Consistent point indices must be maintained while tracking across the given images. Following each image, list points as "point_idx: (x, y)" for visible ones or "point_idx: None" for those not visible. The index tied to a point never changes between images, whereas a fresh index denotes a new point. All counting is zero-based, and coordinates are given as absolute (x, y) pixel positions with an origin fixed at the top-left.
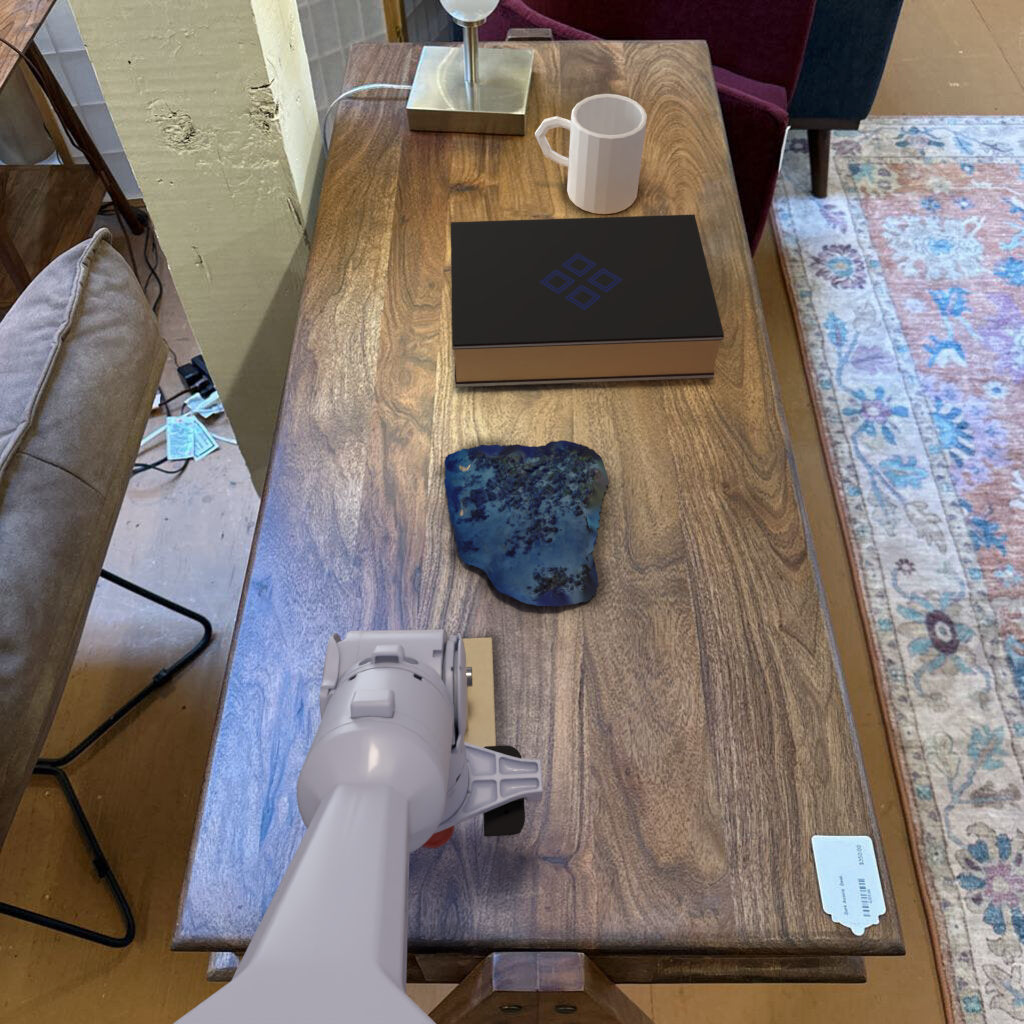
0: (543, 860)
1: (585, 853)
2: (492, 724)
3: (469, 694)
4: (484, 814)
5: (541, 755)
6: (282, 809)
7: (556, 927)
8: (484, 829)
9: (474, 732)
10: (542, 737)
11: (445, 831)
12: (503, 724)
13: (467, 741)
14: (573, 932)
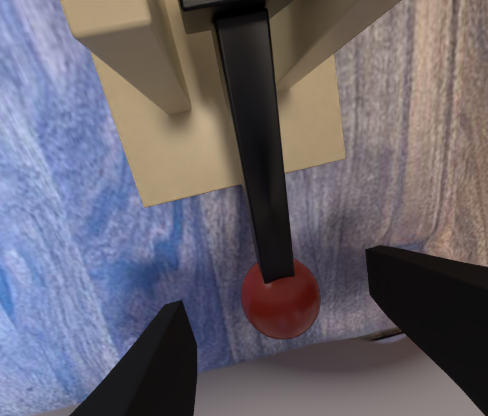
0: None
1: (444, 232)
2: (331, 68)
3: None
4: (410, 306)
5: (393, 109)
6: (17, 268)
7: None
8: (401, 321)
9: (301, 90)
10: (395, 77)
11: (315, 319)
12: None
13: (291, 110)
14: None
